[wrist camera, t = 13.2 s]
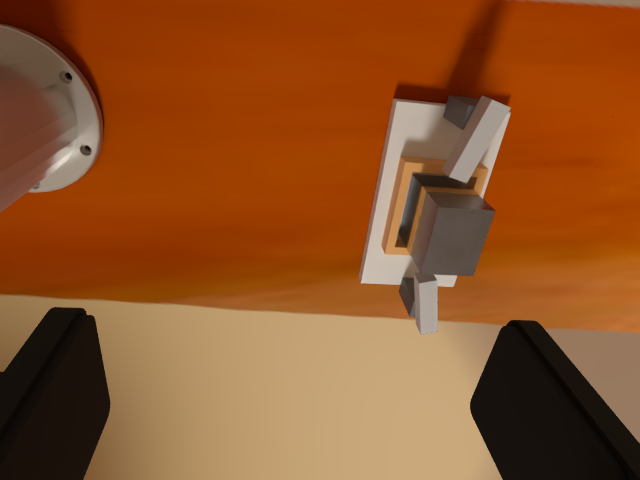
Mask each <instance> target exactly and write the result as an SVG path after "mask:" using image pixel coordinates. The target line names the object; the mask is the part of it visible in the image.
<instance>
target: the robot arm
mask: <svg viewBox="0 0 640 480" xmlns="http://www.w3.org/2000/svg"><path fill="white" fill-rule="evenodd" d="M68 72H69V73H70V74H71V76H72V79H70V78H69V77H68ZM102 142H103V121H102V114H101V110H100V107H99V104H98V101H97V99H96V96H95V94H94V92H93V90H92V89H91V87H90V85H89V83H88V81H87V80H86V79H85V77H84V76H83V75H82V73H81V72H80V71H79V69H78V68H77V67H76V66H75V65H74V64H73V63H72V62H71V61H70V60H69V59H68V58H67V57H66V56H65V55H64V54H63V53H62V52H61V51H59V50H58V49H57V48H55V47H54V46H53V45H51V44H50V43H48V42H47V41H46V40H44V39H42V38H40V37H38V36H36V35H34V34H32V33H30V32H28V31H26V30H23V29H20V28H17V27H14V26H11V25H7V24H0V212H2V211H3V210H4V209H6V208H7V207H8V206H10V205H11V204H12V203H13V202H15V201H16V200H17V199H19V198H20V197H21V196H23V195H24V194H25V193H27V192H32V193H36V192H49V191H53V190H57V189H61V188H64V187H66V186H68V185H70V184H72V183H74V182H75V181H77V180H78V179H79V178H80V177H82V176H83V175H84V174H85V173H86V172H87V171H88V170H89V169H90V168H91V167H92V166H93V164H94V162H95V160H96V159H97V157H98V155H99V152H100V149H101V146H102ZM87 146H89V147H90V148H91V150H89V149H88V148H87ZM470 410H471V414H472V417H473V419H474V421H475V423H476V425H477V427H478V429H479V431H480V433H481V435H482V437H483V439H484V442H485V443H486V446H487V448H488V450H489V452H490V454H491V456H492V458H493V460H494V462H495V464H496V466H497V469H498V471H499V473H500V475H501V477H502V479H503V480H640V443H639V442H638V441H637V440H636V439H635V438H634V436H633V435H632V434H631V433H630V431H629V430H628V429H627V428H626V427H625V425H624V424H623V423H622V422H621V421H620V420H619V418H618V417H617V416H616V415H615V414H614V412H613V411H612V410H611V409H610V407H609V406H608V405H607V404H606V403H605V401H604V400H603V399H602V398H601V397H600V395H599V394H598V393H597V392H596V391H595V389H594V388H593V387H592V386H591V385H590V383H589V382H588V381H587V380H586V379H585V377H584V376H583V375H582V374H581V373H580V371H579V370H578V369H577V368H576V367H575V365H574V364H573V363H572V362H571V361H570V359H569V358H568V357H567V356H566V355H565V353H564V352H563V351H562V350H561V349H560V347H559V346H558V345H557V344H556V343H555V341H554V340H553V339H552V338H551V337H550V335H549V334H548V333H547V332H546V331H545V329H544V328H543V327H542V326H541V325H540V324H539V323H538V322H536V321H527V320H511V321H510V322H508V324H507V325H506V326H503V327H502V328H501V330H500V332H499V335H498V337H497V339H496V342H495V344H494V347H493V349H492V351H491V354H490V356H489V358H488V361H487V363H486V365H485V368H484V370H483V372H482V375H481V377H480V380H479V382H478V384H477V387H476V389H475V392H474V394H473V396H472V399H471V402H470ZM109 411H110V397H109V393H108V387H107V382H106V376H105V370H104V365H103V360H102V354H101V349H100V344H99V338H98V333H97V327H96V322H95V318H94V316H92V315H87V314H86V311H85V310H84V309H83V308H60V307H54V308H51V309H50V310H49V311H48V312H47V314H46V315H45V316H44V318H43V319H42V320H41V322H40V323H39V324H38V326H37V327H36V328H35V330H34V331H33V333H32V334H31V335H30V337H29V338H28V339H27V341H26V342H25V344H24V345H23V346H22V348H21V349H20V350H19V352H18V353H17V354H16V356H15V357H14V359H13V360H12V361H11V363H10V364H9V365H8V367H7V368H6V370H5V371H4V372H0V480H83V479H84V476H85V474H86V471H87V469H88V466H89V464H90V461H91V458H92V456H93V454H94V451H95V449H96V446H97V444H98V441H99V439H100V436H101V434H102V431H103V429H104V426H105V424H106V421H107V418H108V415H109Z"/></svg>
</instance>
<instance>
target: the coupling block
mask: <svg viewBox="0 0 640 480" xmlns="http://www.w3.org/2000/svg"><path fill="white" fill-rule="evenodd" d="M494 214H495V210H494V209H493V208H492V207H491V206H490V205H489V204H488V203H487V202H486V201H484V200H483V199H482V198H481V197H480V196H479V194H478V193H477V192H476V191H475V190H473V189H472V188H471V187H469V186H468V185H467V184H466V183H464V182H462V181H459V180H456V179H454V178H451V177H447V176H433V175H419V174H412V176H411V181H410V185H409V190H408V194H407V199H406V203H405V207H404V212H403V216H402V221H401V225H400V229H399V235H400V237H401V238H402V240H403V242H404V244H405V246H406V248H407V251H408V253H409V255H411V257H412V259H413V260H414V262H415V264H416V266H417V268H418V270H419V271H420V273H421V274H429V275H455V276H473V275H474V272H475V269H476V266H477V263H478V260H479V257H480V254H481V251H482V248H483V245H484V243H485V240H486V237H487V234H488V231H489V228H490V225H491V222H492V219H493V216H494Z"/></svg>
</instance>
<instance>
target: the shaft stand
mask: <svg viewBox="0 0 640 480" xmlns="http://www.w3.org/2000/svg"><path fill="white" fill-rule="evenodd" d="M509 110H510V107H508V106H506V105H503V104H501V103H499V102H497V101H494V100H492V99H490V98H488V97H485V96H483V95H482V96H481V98H480V99H477V98H472V97H463V96H453V95H449V96H448V100H447V104H443V103H433V102H424V101H414V100H405V99H395V98H393V102H392V107H391V112H390V118H389V123H388V128H387V133H386V138H385V143H384V149H383V154H382V159H381V164H380V169H379V175H378V180H377V185H376V190H375V195H374V200H373V206H372V211H371V216H370V221H369V226H368V232H367V237H366V242H365V247H364V252H363V258H362V263H361V268H360V273H359V279H360V282H361V283H371V284H396V285H400V289H399V293H400V296H401V298H402V300H403V303H404V305H405V307H406V309H407V312H408V314H409V316H410V317H416V325H417V327H418V330H419V332H420V334H421V335H422V334H427V333H433V332H437V331H438V328H437V327H438V326H437V304H438V301H437V286H447V287H454V284H455V281H456V278H457V276H455V275H429V274H421V273H420V271H419V270H418V268H417V266H416V264H415V262H414V260H413V259H412V257H411V255H409V253H408V251H407V248H406V246H405V244H404V242H403V240H402V238H401V237H400V235H399V229H400V225H401V221H402V216H403V212H404V207H405V203H406V199H407V194H408V190H409V185H410V181H411V176H412V174H419V175H433V176H447V177H451V178H454V179H456V180H459V181H462V182H464V183H466V184H467V185H468V186H469V187H471V188H472V189H473V190H475V191H476V192H477V193H478V194H479V196H480V197H481V198H482V199H483V196H484V193H485V190H486V187H487V184H488V181H489V178H490V175H491V172H492V169H493V166H494V163H495V160H496V156H497V153H498V150H499V147H500V144H501V141H502V138H503V135H504V132H505V129H506V126H507V123H508V120H509V117H510V114H511V113H510V112H509Z"/></svg>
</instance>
